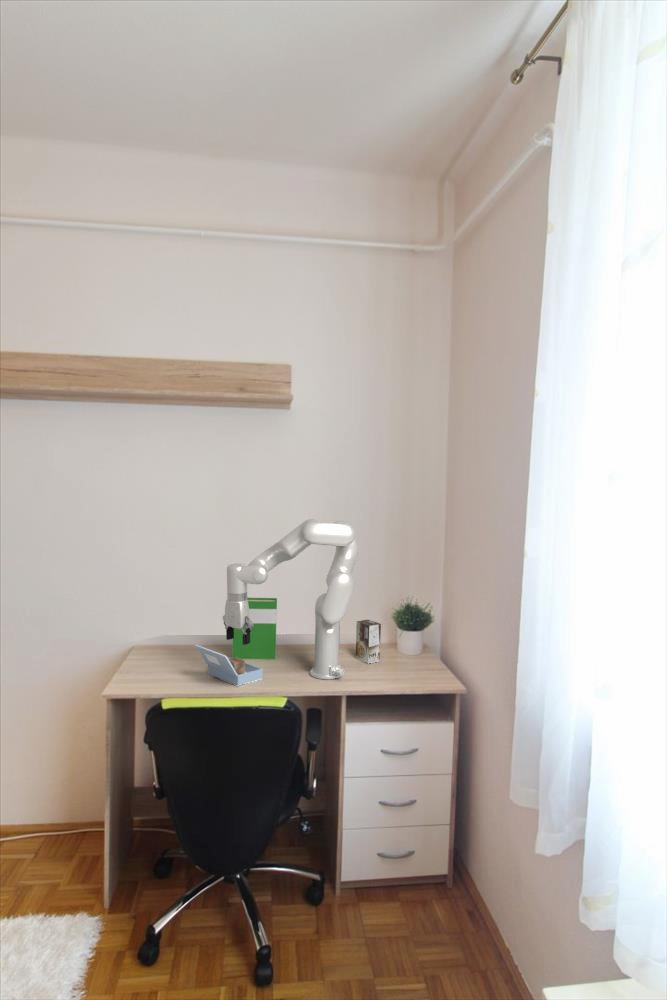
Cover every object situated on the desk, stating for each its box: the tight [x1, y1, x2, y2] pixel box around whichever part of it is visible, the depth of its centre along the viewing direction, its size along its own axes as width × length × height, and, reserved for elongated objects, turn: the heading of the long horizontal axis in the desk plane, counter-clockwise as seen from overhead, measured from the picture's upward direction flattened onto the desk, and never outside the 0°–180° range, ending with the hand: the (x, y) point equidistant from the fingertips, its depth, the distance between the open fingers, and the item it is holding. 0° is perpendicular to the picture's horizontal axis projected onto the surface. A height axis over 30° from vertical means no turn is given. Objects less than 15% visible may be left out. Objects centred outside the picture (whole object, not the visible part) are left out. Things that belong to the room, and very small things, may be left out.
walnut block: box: [228, 657, 246, 675], centre depth 253 cm, size 5×5×6 cm
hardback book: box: [231, 597, 278, 660], centre depth 279 cm, size 18×7×24 cm, turn 94°
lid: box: [195, 644, 238, 676], centre depth 246 cm, size 18×10×1 cm
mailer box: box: [207, 657, 264, 687], centre depth 253 cm, size 18×12×4 cm, turn 47°
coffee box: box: [355, 619, 382, 665], centre depth 278 cm, size 9×6×16 cm
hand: (238, 641), depth 252 cm, fingers open, 9 cm apart
